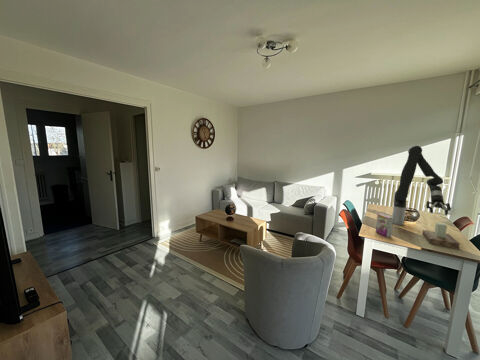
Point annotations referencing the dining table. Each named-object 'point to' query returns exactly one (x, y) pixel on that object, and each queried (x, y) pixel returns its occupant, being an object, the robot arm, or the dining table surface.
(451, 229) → the dining table surface
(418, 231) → the dining table surface
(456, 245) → the walnut plinth
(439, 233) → the sage-green block
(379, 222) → the candy bar box
